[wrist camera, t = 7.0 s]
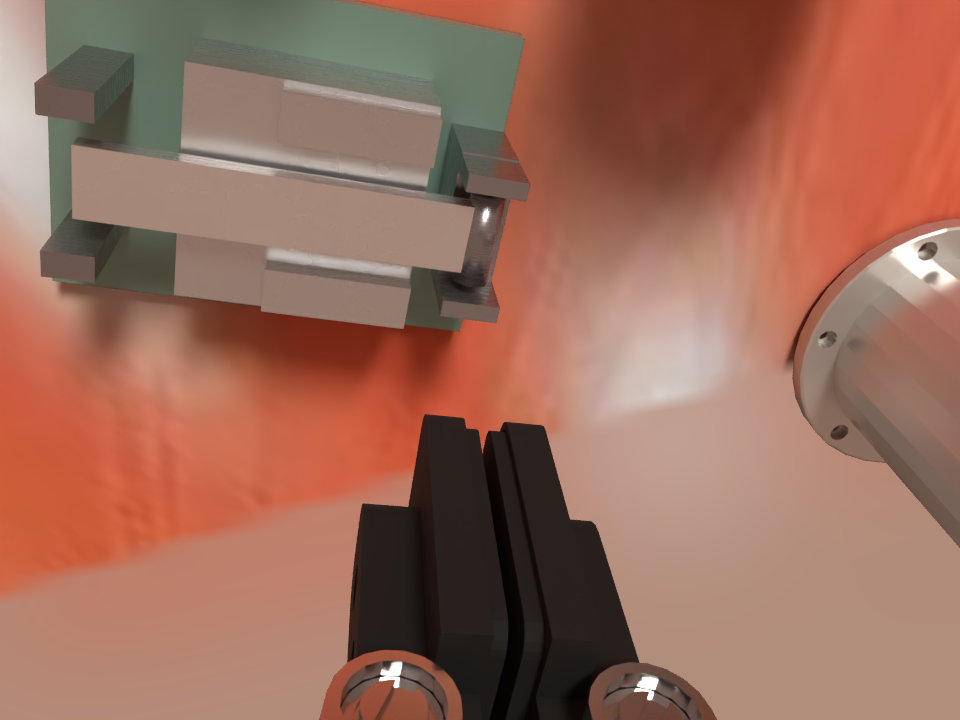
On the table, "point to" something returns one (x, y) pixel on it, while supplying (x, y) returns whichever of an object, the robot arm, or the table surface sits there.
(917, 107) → the table surface
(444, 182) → the grey block frame
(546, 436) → the robot arm
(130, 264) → the board
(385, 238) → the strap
